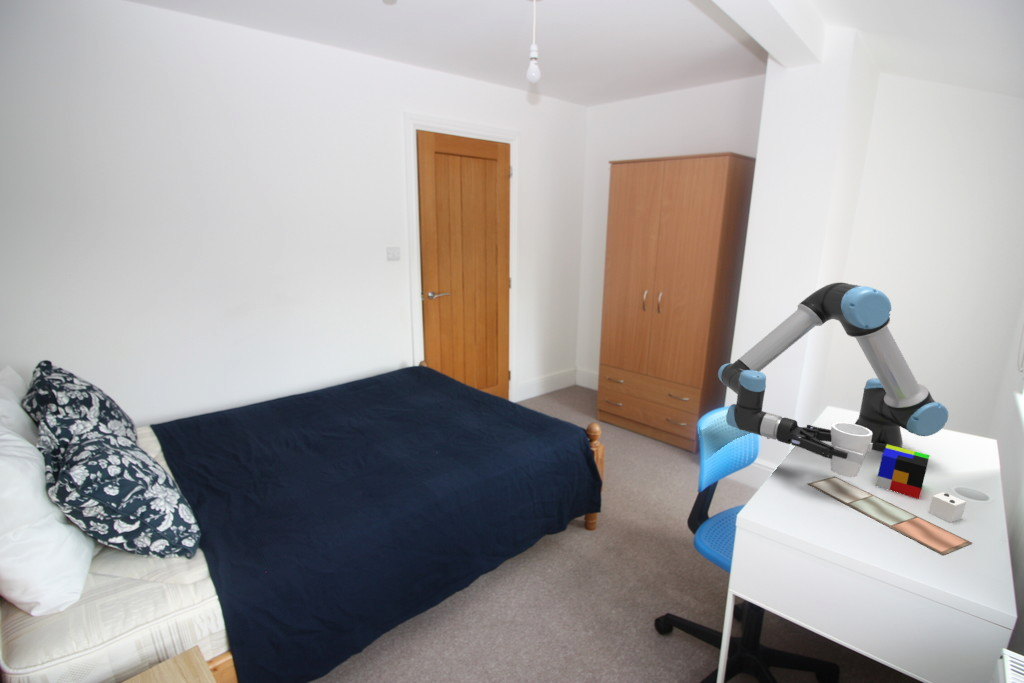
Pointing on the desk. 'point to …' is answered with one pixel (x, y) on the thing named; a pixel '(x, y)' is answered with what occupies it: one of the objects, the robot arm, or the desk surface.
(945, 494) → the die
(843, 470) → the foam cup
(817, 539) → the desk surface
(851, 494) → the color swatch strip
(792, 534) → the desk surface
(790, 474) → the desk surface
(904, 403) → the robot arm
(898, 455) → the puzzle toy
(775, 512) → the desk surface
